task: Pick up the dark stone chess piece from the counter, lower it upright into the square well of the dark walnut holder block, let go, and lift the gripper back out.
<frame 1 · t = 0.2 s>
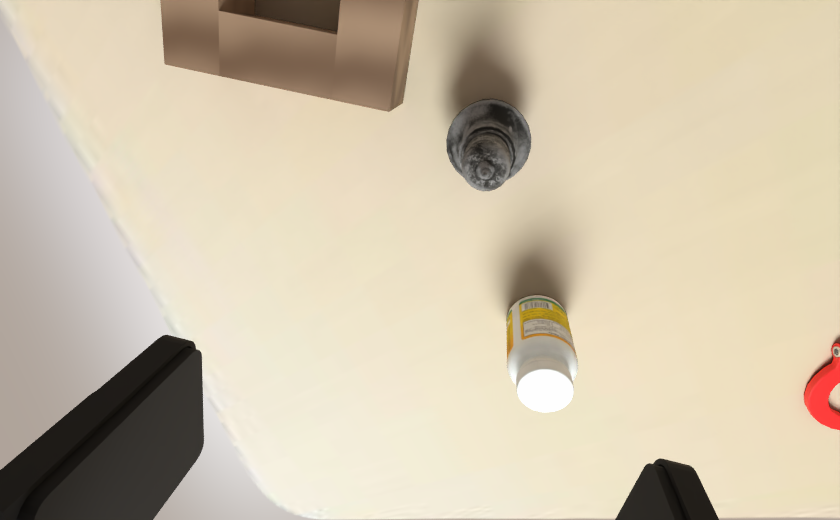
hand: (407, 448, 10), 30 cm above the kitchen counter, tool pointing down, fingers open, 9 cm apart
dark stone chess piece: (489, 134, 36), on the kitchen counter
supplement bottle: (535, 318, 42), on the kitchen counter
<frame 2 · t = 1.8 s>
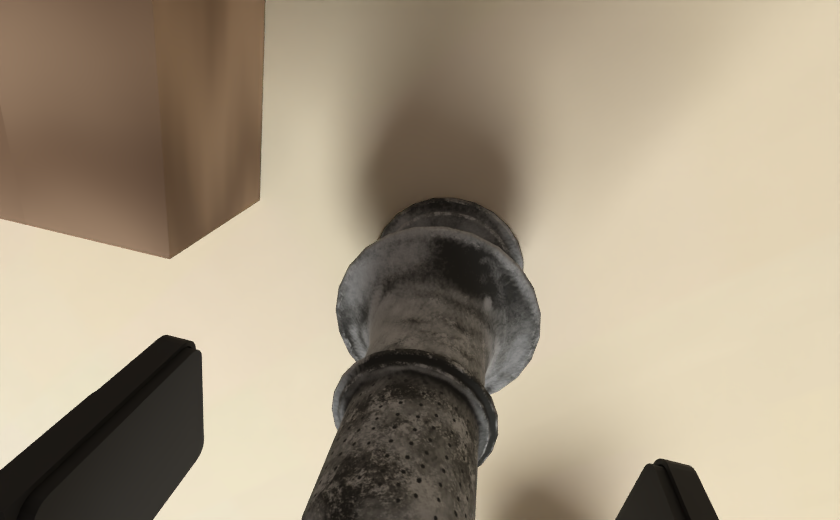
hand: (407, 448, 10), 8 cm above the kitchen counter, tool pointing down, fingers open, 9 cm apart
dark stone chess piece: (447, 267, 17), on the kitchen counter
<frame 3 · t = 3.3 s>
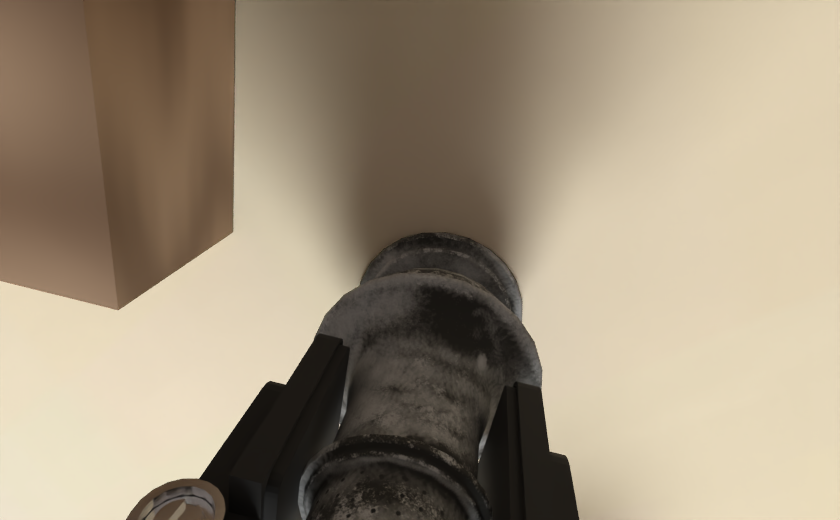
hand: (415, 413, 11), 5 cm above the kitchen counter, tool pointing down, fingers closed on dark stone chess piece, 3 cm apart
dark stone chess piece: (439, 306, 15), on the kitchen counter, touching gripper
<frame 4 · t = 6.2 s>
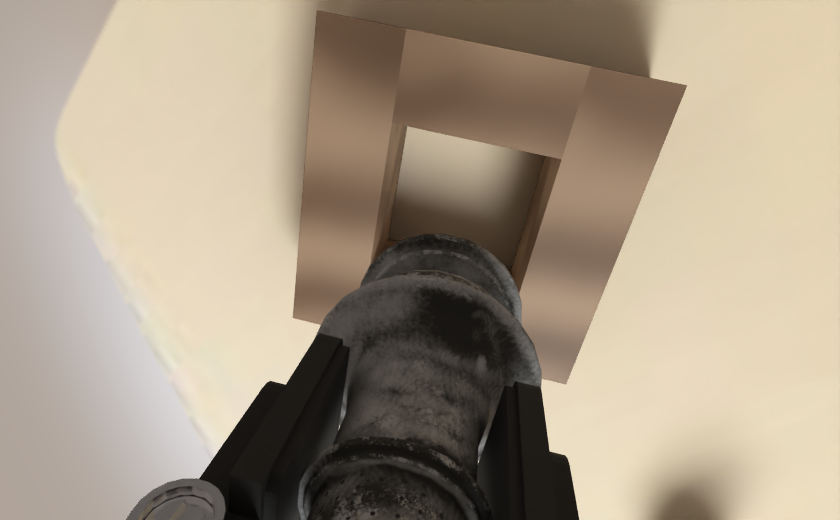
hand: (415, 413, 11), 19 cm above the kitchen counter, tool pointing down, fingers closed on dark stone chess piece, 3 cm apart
dark stone chess piece: (439, 307, 15), point 14 cm above the kitchen counter, touching gripper
well block: (463, 193, 28), on the kitchen counter
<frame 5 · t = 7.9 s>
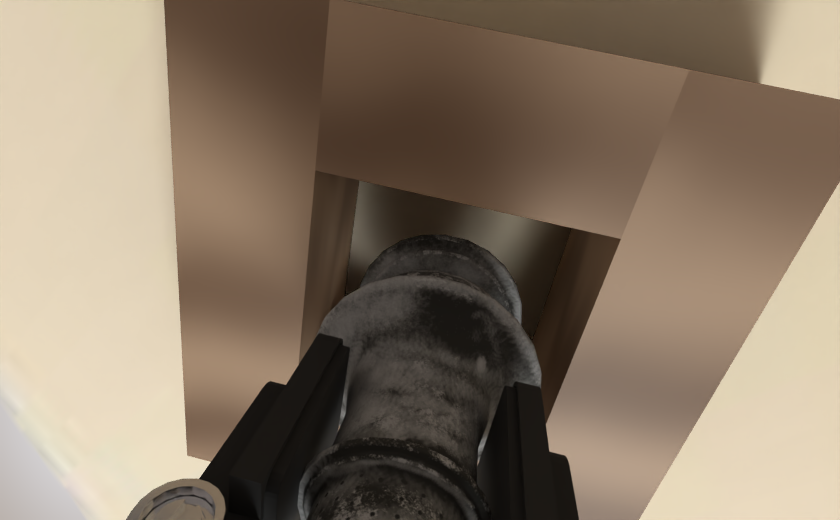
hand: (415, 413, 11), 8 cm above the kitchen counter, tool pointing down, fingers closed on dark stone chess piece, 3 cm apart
dark stone chess piece: (438, 307, 15), point 3 cm above the kitchen counter, touching gripper
well block: (450, 261, 18), on the kitchen counter
when the fingers open (6 cm above the kitchen counter, at t = 9.1 s): dark stone chess piece drops 1 cm, resting in well block.
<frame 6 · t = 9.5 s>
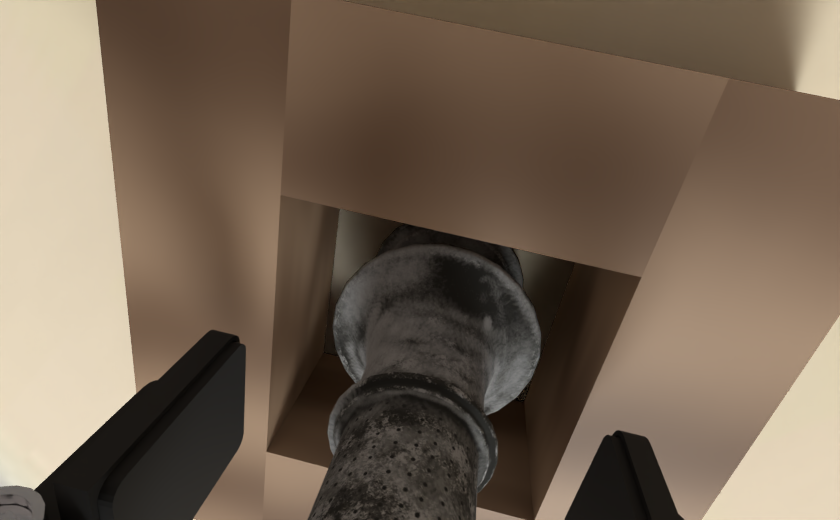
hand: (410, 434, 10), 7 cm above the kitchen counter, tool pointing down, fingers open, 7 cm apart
dark stone chess piece: (446, 282, 16), resting in well block
well block: (443, 288, 16), on the kitchen counter
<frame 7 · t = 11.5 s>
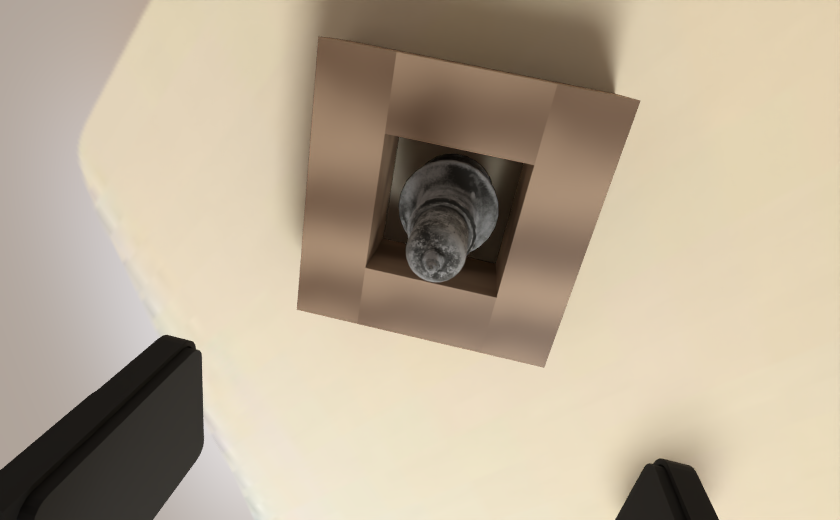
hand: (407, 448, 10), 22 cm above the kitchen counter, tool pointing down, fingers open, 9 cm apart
dark stone chess piece: (452, 193, 31), resting in well block
well block: (450, 196, 30), on the kitchen counter
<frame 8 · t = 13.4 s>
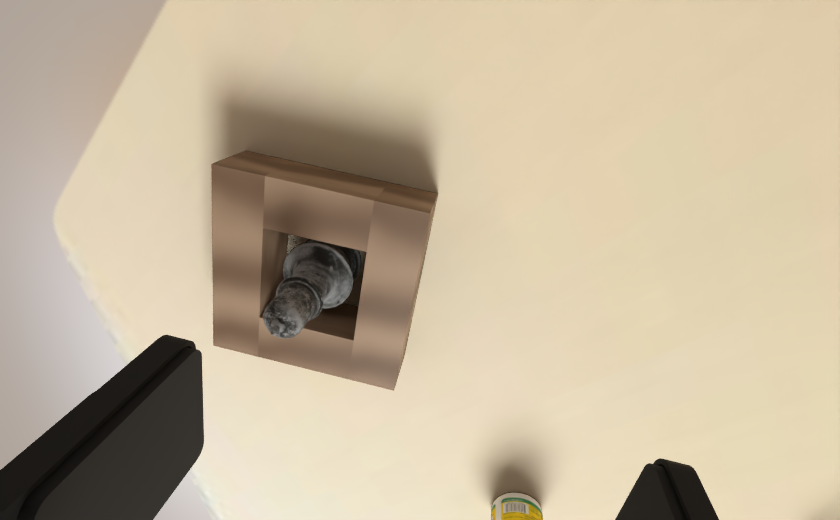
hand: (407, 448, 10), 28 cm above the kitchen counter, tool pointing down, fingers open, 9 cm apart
dark stone chess piece: (332, 258, 41), resting in well block
well block: (330, 260, 40), on the kitchen counter
supplement bottle: (516, 507, 50), on the kitchen counter
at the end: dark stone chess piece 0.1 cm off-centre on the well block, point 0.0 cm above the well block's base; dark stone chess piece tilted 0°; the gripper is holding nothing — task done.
